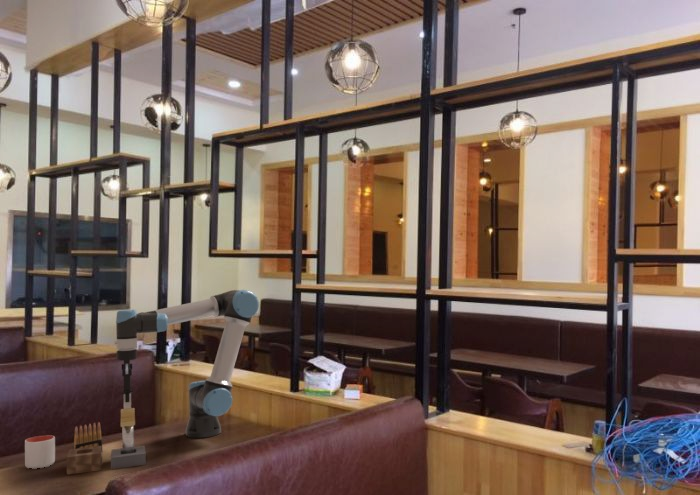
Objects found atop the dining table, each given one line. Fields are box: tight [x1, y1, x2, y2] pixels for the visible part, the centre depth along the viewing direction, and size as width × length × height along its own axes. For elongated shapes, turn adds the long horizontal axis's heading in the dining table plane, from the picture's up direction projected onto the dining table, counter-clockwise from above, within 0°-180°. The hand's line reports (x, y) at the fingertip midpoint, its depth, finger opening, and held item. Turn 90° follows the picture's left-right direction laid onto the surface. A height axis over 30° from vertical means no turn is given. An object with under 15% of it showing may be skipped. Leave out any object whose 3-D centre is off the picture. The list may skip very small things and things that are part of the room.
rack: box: [66, 445, 103, 475], centre depth 221 cm, size 11×11×6 cm
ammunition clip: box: [73, 421, 103, 449], centre depth 239 cm, size 11×2×12 cm, turn 135°
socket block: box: [110, 445, 147, 470], centre depth 227 cm, size 12×12×14 cm
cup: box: [24, 434, 56, 470], centre depth 226 cm, size 10×10×10 cm
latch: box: [120, 407, 136, 428], centre depth 227 cm, size 5×10×4 cm, turn 20°
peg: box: [121, 425, 135, 454], centre depth 227 cm, size 4×4×14 cm
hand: (127, 410), depth 237 cm, fingers closed
